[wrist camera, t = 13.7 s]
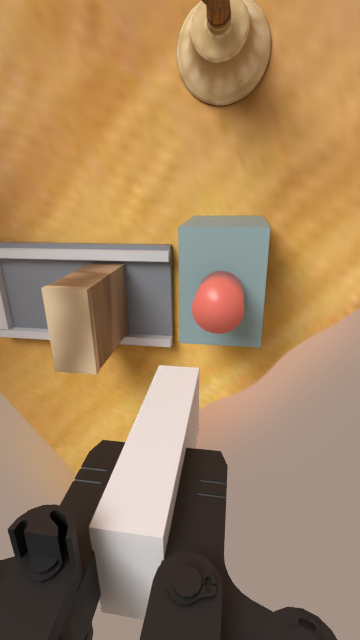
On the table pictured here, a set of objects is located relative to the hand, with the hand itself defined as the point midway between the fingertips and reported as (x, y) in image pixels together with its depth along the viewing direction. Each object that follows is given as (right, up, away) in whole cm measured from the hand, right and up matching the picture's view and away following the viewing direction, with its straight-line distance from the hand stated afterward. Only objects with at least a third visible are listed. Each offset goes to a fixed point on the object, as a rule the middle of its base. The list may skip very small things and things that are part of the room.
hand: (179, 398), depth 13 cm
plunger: (+3, +5, +15) cm, 16 cm away
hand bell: (+4, +27, +18) cm, 32 cm away
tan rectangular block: (-8, +5, +27) cm, 28 cm away
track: (-12, +6, +28) cm, 31 cm away
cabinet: (+5, +9, +24) cm, 27 cm away
